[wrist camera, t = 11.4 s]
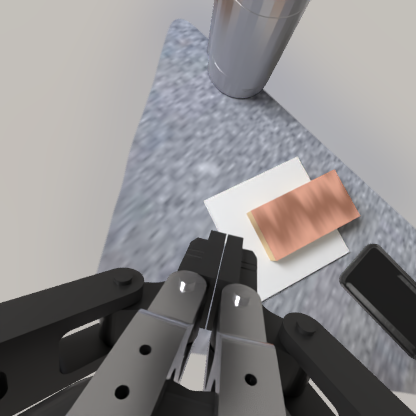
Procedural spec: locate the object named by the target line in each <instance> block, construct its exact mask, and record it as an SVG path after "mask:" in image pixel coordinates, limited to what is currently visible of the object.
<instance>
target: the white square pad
mask: <svg viewBox="0 0 416 416" xmlns="http://www.w3.org/2000/svg"><path fill="white" fill-rule="evenodd" d="M310 181H311V180H310V178H309V177H308V175H307V173H306V171H305V169H304V167H303V166H302V164H301V162H300V160H299V158H298V157H296V158H293V159H291V160H289V161H287V162H285V163H283V164H281V165H279V166H277V167H274V168H272V169H270V170H268V171H266V172H264V173H262V174H260V175H258V176H255V177H253V178H251V179H249V180H247V181H245V182H243V183H241V184H239V185H236V186H234V187H232V188H230V189H228V190H226V191H224V192H222V193H219V194H217V195H215V196H213V197H211V198H209V199H207V200H205V201H204V203H205V205H206V207H207V209H208V211H209V213H210V215H211V217H212V219H213V221H214V223H215V225H216V227H217V229H218V231H219V232H222V233H226V234H227V235H226V239H225V245H226V241H227V237H228V234H230V235H234V236H238V237H242V238H243V249H247V250H251V251H253V252H254V254H255V255H256V257H257V293H258V294H259V296H260V298H261V301H263V300H265V299H267V298H268V297H270V296H272V295H274V294H275V293H277V292H279V291H281V290H283V289H284V288H286V287H288V286H290V285H291V284H293V283H295V282H297V281H299V280H300V279H302V278H304V277H306V276H307V275H309V274H311V273H313V272H315V271H316V270H318V269H320V268H322V267H323V266H325V265H327V264H329V263H331V262H332V261H334V260H336V259H338V258H339V257H341V256H343V255H345V254H347V253H348V252H349V250H348V248H347V246H346V244H345V243H344V241H343V239H342V237H341V235H340V233H339V232H338V230H337V229H335V230H333V231H331V232H330V233H328V234H326V235H324V236H322V237H320V238H318V239H317V240H315V241H313V242H311V243H309V244H307V245H306V246H304V247H302V248H300V249H298V250H296V251H294V252H293V253H291V254H289V255H287V256H285V257H283V258H281V259H280V260H278V261H270V259H269V257H268V255H267V253H266V251H265V249H264V247H263V245H262V243H261V241H260V239H259V237H258V235H257V233H256V231H255V230H254V228H253V226H252V224H251V222H250V220H249V218H248V216H247V214H246V213H248V212H250V211H251V210H253V209H255V208H257V207H259V206H261V205H263V204H265V203H267V202H269V201H272V200H274V199H276V198H278V197H280V196H282V195H284V194H286V193H288V192H290V191H292V190H294V189H296V188H298V187H300V186H302V185H304V184H306V183H308V182H310Z"/></svg>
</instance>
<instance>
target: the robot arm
mask: <svg viewBox="0 0 416 416" xmlns="http://www.w3.org/2000/svg"><path fill="white" fill-rule="evenodd" d="M309 2H310V0H214V6H213V13H212V19H211V26H210V33H209V40H208V46H207V53H208V55H209V60H208V73H209V77H210V79H211V81H212V83H213V84H214V85H215V86H216V88H217V89H219V90H220V91H221V92H222V93H224V94H226V95H228V96H231V97H235V98H248V97H251V96H254V95H256V94H257V93H259V92H260V91H261V90H262V89H263V88H264V86H265V85H266V83H267V81H268V80H269V78H270V76H271V74H272V72H273V70H274V68H275V66H276V65H277V62H278V61H279V59H280V57H281V55H282V53H283V51H284V49H285V47H286V45H287V44H288V41H289V40H290V38H291V36H292V34H293V32H294V30H295V28H296V26H297V25H298V23H299V21H300V19H301V17H302V15H303V13H304V11H305V9H306V7H307V5H308V3H309ZM226 235H227V234H226V233H222V232H217V231H213V230H211V233H210V236H209V239H208V240H206V239H202V238H196V239H195V240H193V241H192V242H191V243H190V245H189V247H188V249H187V251H186V254H185V256H184V258H183V260H182V262H181V264H180V266H179V269H178V271H177V272H174V273H172V274H171V275H170V276H169V277H168V279H167V280H166V281H164V282H159V283H149V282H144V278H143V276H142V274H141V273H140V272H138V271H136V270H134V269H131V268H116V269H112V270H109V271H105V272H102V273H99V274H95V275H92V276H89V277H86V278H82V279H79V280H76V281H72V282H69V283H65V284H62V285H59V286H55V287H52V288H49V289H45V290H42V291H39V292H36V293H32V294H29V295H26V296H22V297H19V298H16V299H12V300H9V301H6V302H2V303H0V416H12V415H15V414H16V413H18V412H20V411H22V410H24V409H26V408H28V407H30V406H31V405H33V404H35V403H37V402H39V401H41V400H43V399H44V398H46V397H48V396H50V395H52V394H54V393H56V392H58V391H59V390H61V389H63V388H65V387H66V388H65V389H63V390H61V391H59V392H58V393H56V394H54V395H52V396H51V397H49V398H47V399H45V400H44V401H42V402H40V403H39V404H37V405H35V406H33V407H31V408H30V409H28V410H26V411H24V412H23V413H21V414H19V415H17V416H336V415H335V414H334V413H333V412H332V411H331V409H330V408H329V407H328V406H327V404H326V403H325V402H324V401H323V400H322V398H321V397H320V396H319V395H318V394H317V392H316V391H315V390H314V389H313V388H312V386H311V385H310V384H309V383H308V381H309V379H310V378H311V379H312V381H313V382H314V383H315V384H316V385H317V387H318V388H319V389H320V390H321V391H322V392H323V394H324V395H325V396H326V397H327V398H328V400H329V401H330V402H331V403H332V404H333V406H334V407H335V408H336V410H337V412H338V414H339V416H416V414H414V413H413V412H412V411H411V410H410V409H409V408H408V407H407V406H406V405H405V404H404V403H403V402H402V401H401V400H400V399H399V398H398V397H397V396H395V395H394V394H393V393H392V392H391V391H390V390H389V389H388V388H387V387H386V386H385V385H384V384H383V383H382V382H381V381H380V380H379V379H378V378H377V377H376V376H374V375H373V374H372V373H371V372H370V371H369V370H368V369H367V368H366V367H365V366H364V365H363V364H362V363H361V362H360V361H359V360H358V359H357V358H355V357H354V356H353V355H352V354H351V353H350V352H349V351H348V350H347V349H346V348H345V347H344V346H343V345H342V344H341V343H340V342H339V341H338V340H337V339H335V338H334V337H333V336H332V335H331V334H330V333H329V332H328V331H327V330H326V329H325V328H324V327H323V326H322V325H321V324H320V323H318V322H317V321H316V320H315V319H313V318H311V317H310V316H308V315H305V314H302V313H296V312H295V313H289V314H287V315H286V316H285V317H284V319H283V318H281V317H279V316H277V315H275V314H273V313H272V312H270V311H269V310H267V309H266V308H265V307H264V306H263V305H262V302H261V298H260V296H259V294H258V293H257V257H256V255H255V254H254V252H253V251H251V250H247V249H243V238H242V237H238V236H234V235H230V234H228V237H227V241H226V245H225V249H224V253H223V258H222V262H221V266H220V261H221V257H222V252H223V248H224V244H225V239H226ZM219 266H220V270H219ZM218 270H219V275H218V279H217V274H218ZM216 279H217V284H216V288H215V293H214V297H213V302H212V306H211V311H210V315H209V320H208V324H207V330H211V331H212V332H211V337H210V341H209V345H208V349H207V359H206V369H205V377H204V386H203V391H192V390H189V389H187V388H185V387H183V386H182V385H180V381H181V379H182V376H183V373H184V370H185V367H186V364H187V362H188V359H189V356H190V354H191V351H192V348H193V345H194V340H195V339H196V337H197V335H198V331H199V328H203V329H205V325H206V321H207V317H208V313H209V308H210V304H211V300H212V296H213V291H214V287H215V283H216ZM97 319H100V323H97V324H95V325H93V326H91V327H88V328H86V329H83V330H81V331H78V332H76V333H74V334H71V335H69V336H67V337H64V338H62V337H63V336H64V335H65V334H66V333H67V332H69V331H70V330H73V329H75V328H78V327H80V326H83V325H85V324H87V323H90V322H92V321H95V320H97ZM61 338H62V339H61ZM95 371H96V373H95V374H94V376H91V377H88V378H85V379H83V380H80V379H82V378H84V377H86V376H88V375H89V374H91V373H93V372H95ZM78 380H80V381H78ZM76 381H78V382H76ZM75 382H76V383H75ZM73 383H74V384H73ZM71 384H72V385H71ZM69 385H70V386H69ZM67 386H68V387H67Z"/></svg>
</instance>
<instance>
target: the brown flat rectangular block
mask: <svg viewBox="0 0 416 416" xmlns="http://www.w3.org/2000/svg"><path fill="white" fill-rule="evenodd" d="M246 214H247V216H248V218H249V220H250V222H251V224H252V226H253V228H254V230H255V231H256V233H257V235H258V237H259V239H260V241H261V243H262V245H263V247H264V249H265V251H266V253H267V255H268V257H269V259H270V261H278V260H280V259H281V258H283V257H285V256H287V255H289V254H291V253H293V252H294V251H296V250H298V249H300V248H302V247H304V246H306V245H307V244H309V243H311V242H313V241H315V240H317V239H318V238H320V237H322V236H324V235H326V234H328V233H330V232H331V231H333V230H335V229H337V228H339V227H341V226H343V225H344V224H346V223H348V222H350V221H352V220H354V219H356V218H357V217H359V216H360V214H359V213H358V211H357V209H356V207H355V205H354V204H353V202H352V200H351V198H350V196H349V195H348V193H347V191H346V189H345V187H344V186H343V184H342V182H341V180H340V178H339V177H338V175H337V173H336V171H335V169H334V170H332V171H330V172H328V173H326V174H324V175H322V176H320V177H318V178H316V179H314V180H312V181H310V182H308V183H306V184H304V185H302V186H300V187H298V188H296V189H294V190H292V191H290V192H288V193H286V194H284V195H282V196H280V197H278V198H276V199H274V200H272V201H269V202H267V203H265V204H263V205H261V206H259V207H257V208H255V209H253V210H251V211H250V212H248V213H246Z"/></svg>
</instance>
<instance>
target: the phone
mask: <svg viewBox="0 0 416 416" xmlns="http://www.w3.org/2000/svg"><path fill="white" fill-rule="evenodd" d="M339 281H340V284H341V286H342V287H343V288H344V289H345V290H346V291H347V292H348V293H349V294H350V295H351V296H352V297H353V298H354V299H355V300H356V301H357V302H358V304H359V305H360V306H361V307H362V308H363V309H364V310H365V311H366V312H367V313H368V314H369V315H370V316H371V317H372V318H373V319H374V320H375V321H376V322H377V323H378V324H379V325H380V326H381V327H382V328H383V329H384V330H385V331H386V332H387V333H388V334H389V336H390V337H391V338H392V339H393V340H394V341H395V342H396V343H397V344H398V345H399V346H400V347H401V348H402V349H403V350H404V351H405V352H406V353H407V354H408V355H409V356H410V357H411V358H414V359H416V282H415V281H414V280H413V279H412V278H411V277H410V276H409V275H408V274H407V273H406V272H405V271H404V270H403V269H402V268H401V267H400V266H399V265H398V264H397V263H396V262H395V261H394V260H393V259H392V258H391V257H390V256H389V255H388V254H387V253H386V252H385V251H384V250H383V249H382V248H381V247H380V246H379V245H377V244H368V245H367V246H365V248H364V249H363V250H362V251H361V252H360V253H359V254H358V256H357V257H356V258H355V259H354V260H353V261H352V262H351V264H350V265H349V266H348V267H347V268H346V269H345V271H344V272H343V273H342V274H341V276H340V278H339Z"/></svg>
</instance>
